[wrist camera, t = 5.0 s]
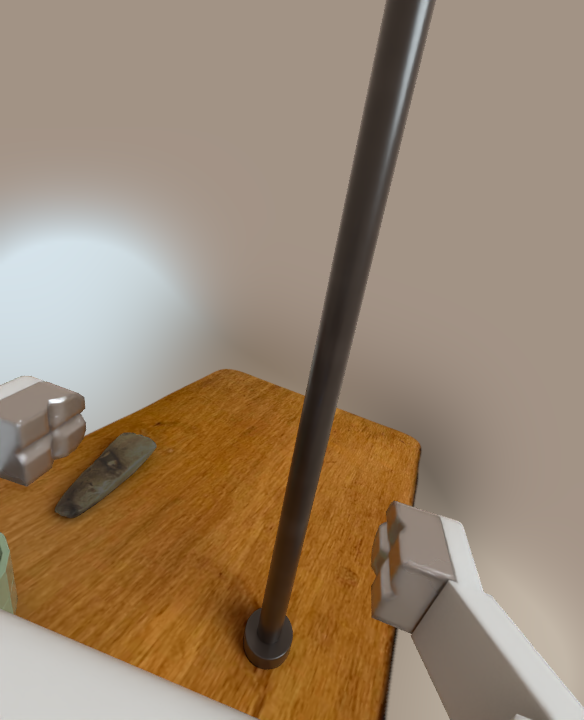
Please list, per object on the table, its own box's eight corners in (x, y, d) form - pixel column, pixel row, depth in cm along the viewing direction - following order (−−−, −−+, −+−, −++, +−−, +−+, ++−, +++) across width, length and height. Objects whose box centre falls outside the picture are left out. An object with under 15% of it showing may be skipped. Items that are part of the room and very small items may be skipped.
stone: (124, 441, 44) (124, 427, 43) (160, 449, 44) (161, 435, 43) (44, 519, 32) (41, 501, 31) (93, 531, 32) (92, 512, 31)
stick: (254, 680, 23) (418, -69, 10) (236, 627, 26) (345, -11, 13) (298, 655, 25) (485, -7, 12) (277, 608, 28) (409, 32, 15)
